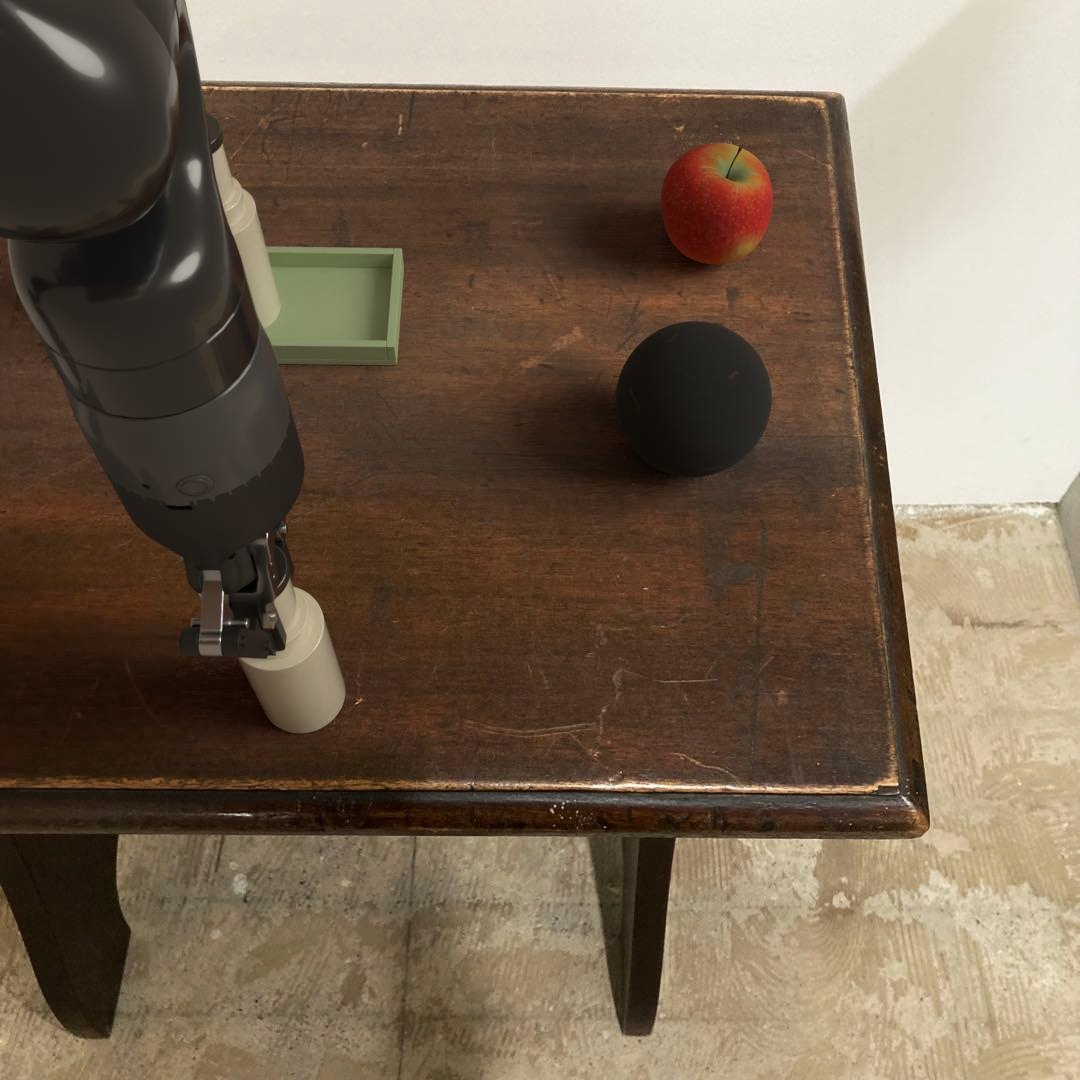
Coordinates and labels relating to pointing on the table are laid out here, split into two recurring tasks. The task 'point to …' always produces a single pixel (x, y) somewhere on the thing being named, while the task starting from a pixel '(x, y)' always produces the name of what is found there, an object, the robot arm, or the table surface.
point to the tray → (337, 305)
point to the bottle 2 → (298, 663)
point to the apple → (716, 203)
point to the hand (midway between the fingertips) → (269, 610)
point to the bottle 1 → (245, 231)
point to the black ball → (693, 399)
